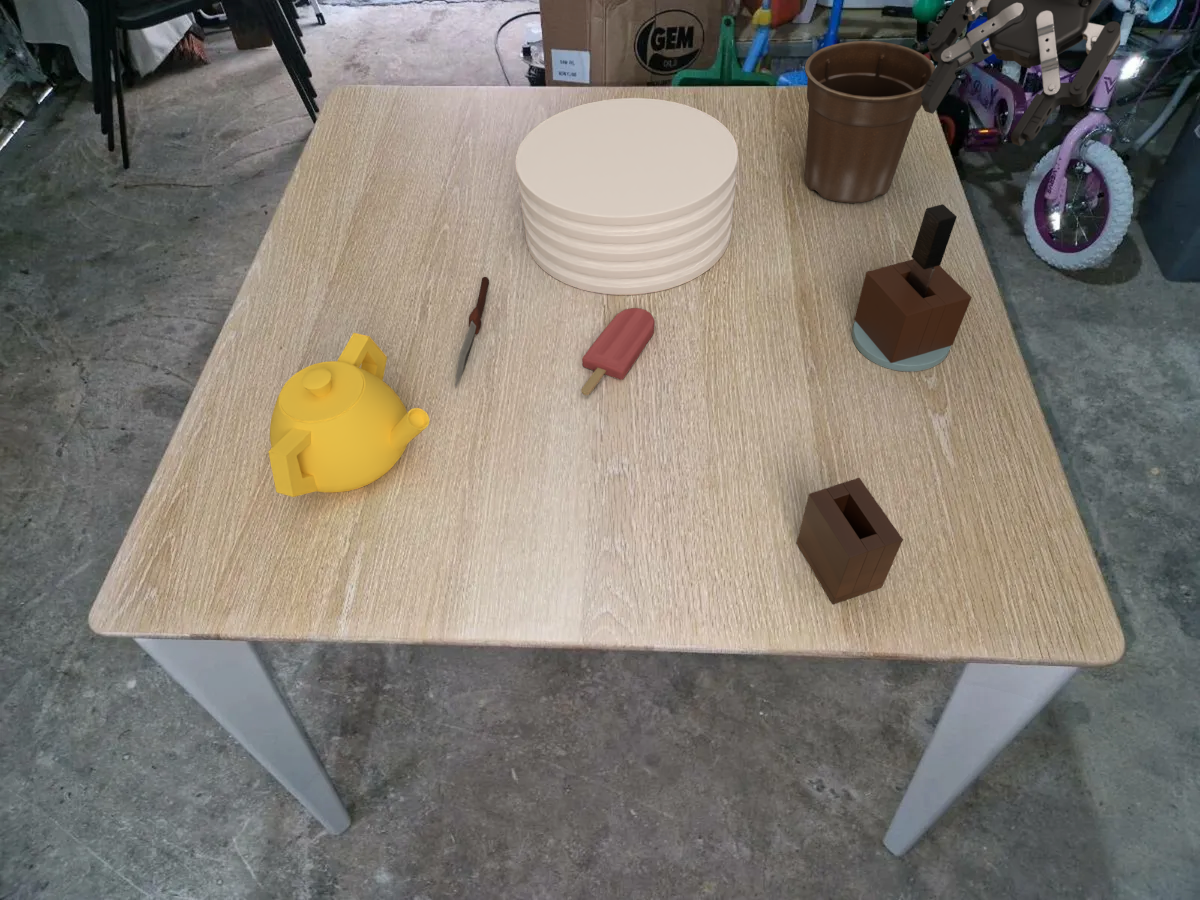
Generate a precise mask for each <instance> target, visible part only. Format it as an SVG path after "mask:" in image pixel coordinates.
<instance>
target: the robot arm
mask: <svg viewBox="0 0 1200 900" xmlns="http://www.w3.org/2000/svg"><path fill="white" fill-rule="evenodd" d="M1102 1H1103V0H953V2H952V3H951V5H950V6H949V8H948V9H947V11H946V13H945V14H944V15H943V17H942V18H941V20H940V21H939V23H938V24H937V26H936V27H935V29H934V30H933V32H932V34H931V35H930V37H929V38H928V40H927V41H926V45H927V48H928V50H929V54H930V56H931V57H932V60H933V61H935V62H937V65H936V66H935V70H934V71H933V73H932V75H931V76H930V78H929V80H928V81H927V83H926V85H925V86H924V88H923V90H922V93H921V99H922V105H921V107H922V108H923V110H924V112H926V113H929V114H932V115H933V114H934V113H936V111H937V109H938V107H939V106H940V104H941V102H942V101H943V99H944V97H945V96H946V94H947V92H948V91H949V89H950V87H951V86H952V84H953V83H954V81H955V79H956V78H957V76H956V73H958V72H959V71H961V70H963V69H964V68H966V67H968V66H970V65H971V64H973V63H980V62H982V61H984V60H986V59H987V58H989V57H991V56H992V55H995V59H997V60H999V61H1003V62H1015V63H1017V64H1018V65H1019V66H1021V67H1023V68H1026V69H1030V70H1031V68H1032V67H1038V66H1040V68H1041V78H1042V87H1043V88H1042V91H1041V93H1040V94H1039V93H1036V94H1035V95H1034V97H1033V99H1032V100H1031V102H1030V103H1029V105H1028V107H1027V108H1026V110H1025V111H1024V113H1023V114H1022V116H1021V118H1020V119H1019V121H1018V122H1017V124H1016V125H1015V127H1014V129H1013V131H1012V132H1011V134H1010V139H1011V143H1012V144H1013V145H1016V146H1019V147H1022V146H1023V145H1024V144H1025V142H1026V141H1027V142H1031V141H1033V140H1034V139H1035V138H1037V136H1038V134H1039V132H1041V129H1042V128H1043V127H1044V125H1045V124H1046V122H1047V120H1048V119H1049V117H1050V116H1051V114H1052V112H1053V111H1054V110H1055V109H1056V108H1057V107H1060V106H1062V105H1063V106H1064V105H1072V107H1075V108H1079V107H1083V106H1084V105H1086V103H1087V102H1088V100H1089V99H1090V96H1091V95H1092V94H1093V91H1094V90H1095V88H1096V87H1097V85H1098V83H1099V81H1100V80H1101V77H1102V76H1103V74H1104V73H1105V71H1106V69H1107V68H1108V66H1109V64H1110V62H1111V60H1112V59H1113V57H1114V55H1115V53H1116V52H1117V50H1118V49H1119V47H1120V45H1121V39H1122V38H1121V35H1122V34H1121V33H1122V31H1121V24H1120V23H1119V22H1118V21H1114V20H1113V21H1110V22H1107V23H1106V24H1105V25H1102V24H1098V23H1094V22H1093V23H1092V22H1090V21H1091V18H1092V16H1093V14H1094V13H1095V12H1096V10H1097V9H1098V7H1099V6H1100V5H1101V2H1102ZM984 13H986V17H987V18H986V21H984V22H983V23H981V24H980V25H978V26H976V27H975V28H973V29H972V30H970V31H968V32H967V33H966V35H965V36H964V38H962V39H960V40H958V39H959V37H960V36H961V34H962V33H963V31H964V30H965V28H966V27H967V25H968V24H969V23H970V22H974V21H976V20H977V18H979V16H980V15H982V14H984ZM957 40H958V41H957ZM1083 40H1085V41H1086V43H1085V53H1086V55H1087V56H1086V57H1085V59H1084V61H1083V62H1082V64H1081V66H1080V68H1079V70H1078V71H1077V73H1076V74H1075V76H1074V78H1073V80H1072V82H1061V73H1060V64H1059V62H1060V61H1059V55H1060V54H1063V52H1066V51H1068V50H1069V49H1071V48H1072V47H1074V46H1076V45H1078V44H1080V43H1081V42H1082V41H1083ZM956 41H957V42H956Z"/></svg>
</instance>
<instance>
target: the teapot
mask: <svg viewBox="0 0 1200 900" xmlns="http://www.w3.org/2000/svg"><path fill="white" fill-rule="evenodd" d="M387 360H388V356H387V355H386V354H385V352H383V350H382V349H381V348H380V347H379V346H378V344H377V343H376V342H375V341H374V340H373V338H372V337H371V336H370V335H366V334H361V333H357V332H352V335H351V336H350V338H349V340H348V342H347V343H346V345H345V347H344V348H343V350H342V352H341V354H340V355H339V356H338V358H337V360H329V361H322V362H316V363H314V364H310V365H308V366H305V367H304V368H302V369H300V370H298V371H297V372H296V373H294V374H293V375H292V376H291V377H290V378H289V379H288V380H287V381H285V384H284V385H282V388H281V390H280V391H279V393H278V395H277V398H276V400H275V404H274V407H273V410H272V414H271V418H270V423H269V425H270V426H269V441H270V449H269V450H268V451H267V452H268V456H269V462H270V467H271V472H272V477H273V483H274V488H275V492H276V493H277V494H280V495H284V496H288V497H292V498H296V497H300V496H303V495H306V494H311V493H314V492H318V493H331V494H333V493H335V494H336V493H345V492H350V491H354V490H357V489H361V488H363V487H366V486H368V485H370V484H373V483H374V482H375V481H377V480H379V479H381V478H382V477H383V476H384V475H386V474H387V473H388V472H389V471H390V470H391V469H392V468H393V467H394V466H395V465H396V463H397V462H398V461H399V460H400V459H401V457H402V455H403V454H404V453H405V450H406V448H407V447H408V444H409V443H410V442H411V441H412V440H414V439H415V438H416V437H417V436H418V435H420V434H421V433H422V432H423V431H424V430H425V429H427V428H428V426H429V424H430V421H431V420H430V416H429V414H428V413H427V411H425V409H423V408H419V407H413V408H411V409H409V410H407V408H406V406H405V404H404V403H403V401H402V400H401V398H400V397H399V395H398V394H397V393H396V392H395V390H394V389H393V388H392V387H390V385H389V384H387V383H386V382H385V381H384V376H385V372H386V366H387Z"/></svg>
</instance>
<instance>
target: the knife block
mask: <svg viewBox="0 0 1200 900" xmlns="http://www.w3.org/2000/svg"><path fill="white" fill-rule="evenodd" d="M903 540H904V539H903V537H902V535H901V534H900V533H899V531H898V530H897V529H896V527H895V526H894V524H893V523H892V521H891V520H890V519H889V518H888V516H887V514H886V513H885V511H884V510H883V509H882V508H881V505H879V503H878V502H877V500H876V499H875V498H874V496H873V495H872V493H871V492H870V490H869V489H868V487H867V486H866V485H865V483H864V482H863V480H862V479H861V478H860V477H857V478H854V479H850V480H847V481H844V482H841V483H837V484H835V485H832V486H828V487H826V488H823V489H819V490H815V491H813V492H809V493H808V496H807V500H806V503H805V507H804V511H803V515H802V520H801V523H800V527H799V531H798V535H797V538H796V542H795V545H796V546H797V547H798V549H799V551H800V552H801V554H802V556H803V557H804V559H805V560H806V562H807V564H808V566H809V567H810V569H811V571H812V572H813V574H814V575H815V577H816V579H817V580H818V582H819V584H820V586H821V587H822V589H823V591H824V592H825V594H826V596H827V597H828V599H829V601H830V602H831V604H832V605H836V604H839V603H841V602H844V601H845V602H846V601H847V600H851V599H853V598H856V597H859V596H861V595H865V594H867V593H871V592H873V591H876V590H879V589H882V588H883V585H884V584H885V581H886V579H887V577H888V574H889V572H890V570H891V568H892V565H893V563H894V562H895V559H896V557H897V555H898V552H899V550H900V548H901V545H902V543H903Z"/></svg>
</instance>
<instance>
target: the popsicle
mask: <svg viewBox="0 0 1200 900" xmlns="http://www.w3.org/2000/svg"><path fill="white" fill-rule="evenodd" d="M655 321H656V320H655V318H654V316H653V315H652V313H651V312H649V311H648V310H646V309H644V308H640V307H630V308H625V309H623V310H621V311H620V312H618V313H616V315H615V316H614V317H613V319H612V320H611V321H610V322H609V323H608V325H607V326H606V327H605V328H604V329H603V331H602V332H601V333H600V334H599V335H598V337H597V338H596V339H595V340H594V342H593V343H592V345H591V346H590V347H589V348H588V350H587V351H586V352H585V353H584V355H583V356H582V358H581V363H582V364H581V365H582V367H583V368H585V369H587V370H591V371H593V373H592V374H591V375H590V376H589V378H588V379H587V381H586V382H585V383H584V385H583V386H582V388H581V389H580V393H581V394H582V395H584V396H589V395H591V393H592V392H593V391H594V389H595V388H596V386H598V384H599V382H600V381H601V380H602V378H603V377H604V376H605V375H606V376H609V377H611V378H615V379H617V380H620V381H623V380H624V379H625V377H626V376H627V375H628V373H629V371H630V370H631V369H632V367H633V366H634V365H635V363H636V361H637V360H638V358H639V357H640V356H641V354H642V352H643V351H644V350H645V348H646V346H647V344H648V343H649V342H650V340H651V338H652V337H653V335H654V334H655V328H656V327H655V325H656V324H655V323H656V322H655Z"/></svg>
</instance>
